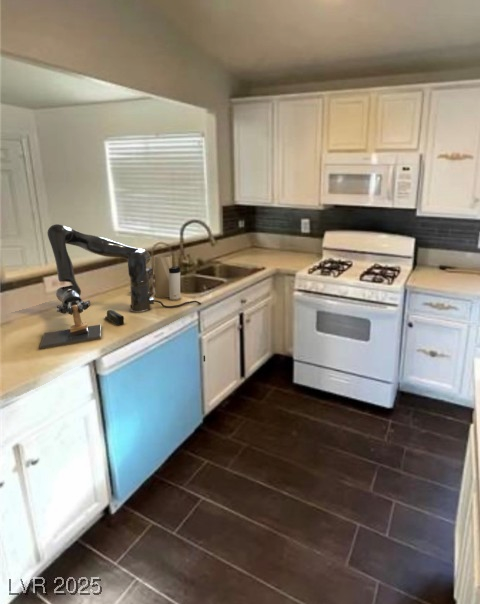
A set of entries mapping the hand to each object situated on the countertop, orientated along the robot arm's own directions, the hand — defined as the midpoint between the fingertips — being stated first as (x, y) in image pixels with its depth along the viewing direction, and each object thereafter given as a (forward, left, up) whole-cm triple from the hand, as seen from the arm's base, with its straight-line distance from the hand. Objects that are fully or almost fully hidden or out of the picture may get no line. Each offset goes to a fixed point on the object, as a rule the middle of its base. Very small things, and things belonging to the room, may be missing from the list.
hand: (76, 311), depth 157 cm
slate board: (+2, -3, -13) cm, 13 cm away
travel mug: (-48, -37, -13) cm, 62 cm away
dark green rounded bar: (-15, -15, -13) cm, 25 cm away
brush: (-1, -3, -11) cm, 11 cm away
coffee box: (-33, -52, -13) cm, 63 cm away
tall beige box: (-43, -47, -13) cm, 65 cm away
